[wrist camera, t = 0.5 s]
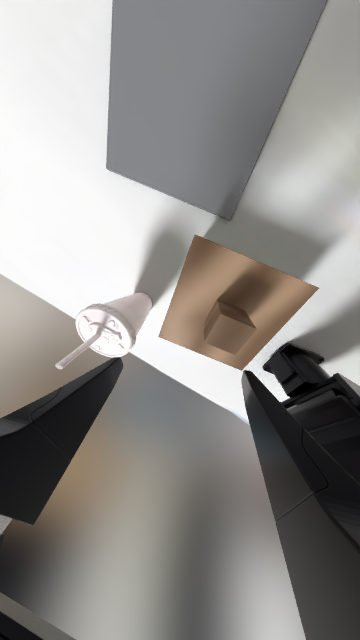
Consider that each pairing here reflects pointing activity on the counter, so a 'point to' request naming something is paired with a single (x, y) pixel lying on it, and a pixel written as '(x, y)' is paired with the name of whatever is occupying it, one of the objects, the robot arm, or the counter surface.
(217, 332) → the lid
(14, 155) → the counter surface
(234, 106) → the mat
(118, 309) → the smoothie
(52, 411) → the robot arm
